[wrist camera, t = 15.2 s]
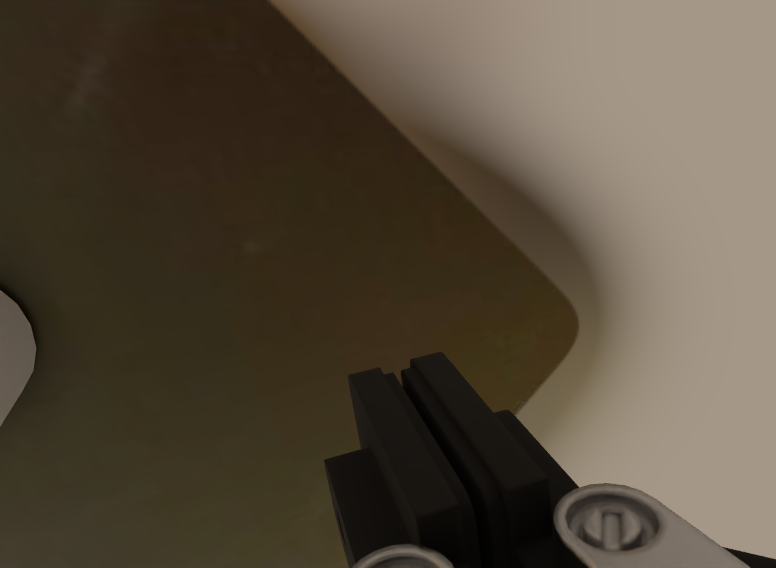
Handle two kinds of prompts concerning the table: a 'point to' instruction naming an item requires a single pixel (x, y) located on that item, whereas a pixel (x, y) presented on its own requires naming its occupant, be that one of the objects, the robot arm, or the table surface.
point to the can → (14, 353)
